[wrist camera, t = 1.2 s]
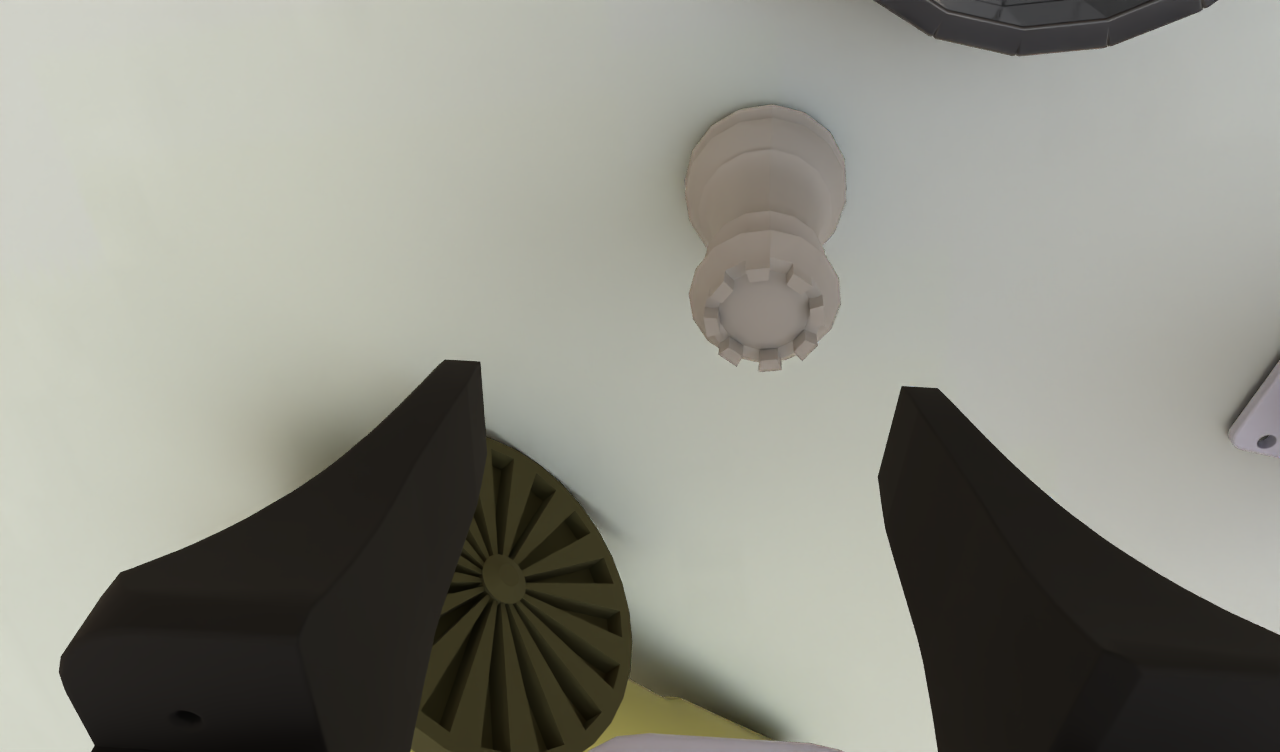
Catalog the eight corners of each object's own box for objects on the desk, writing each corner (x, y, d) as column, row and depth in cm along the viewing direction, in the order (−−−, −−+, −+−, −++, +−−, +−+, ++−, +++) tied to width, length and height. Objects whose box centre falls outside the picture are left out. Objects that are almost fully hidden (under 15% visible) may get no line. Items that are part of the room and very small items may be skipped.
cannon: (880, 707, 37) (917, 1018, 28) (686, 802, 43) (663, 1087, 34) (393, 342, 30) (222, 601, 20) (236, 516, 36) (46, 781, 26)
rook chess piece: (689, 94, 24) (660, 215, 17) (857, 102, 24) (891, 230, 17) (682, 244, 27) (655, 400, 20) (834, 254, 26) (856, 416, 20)
